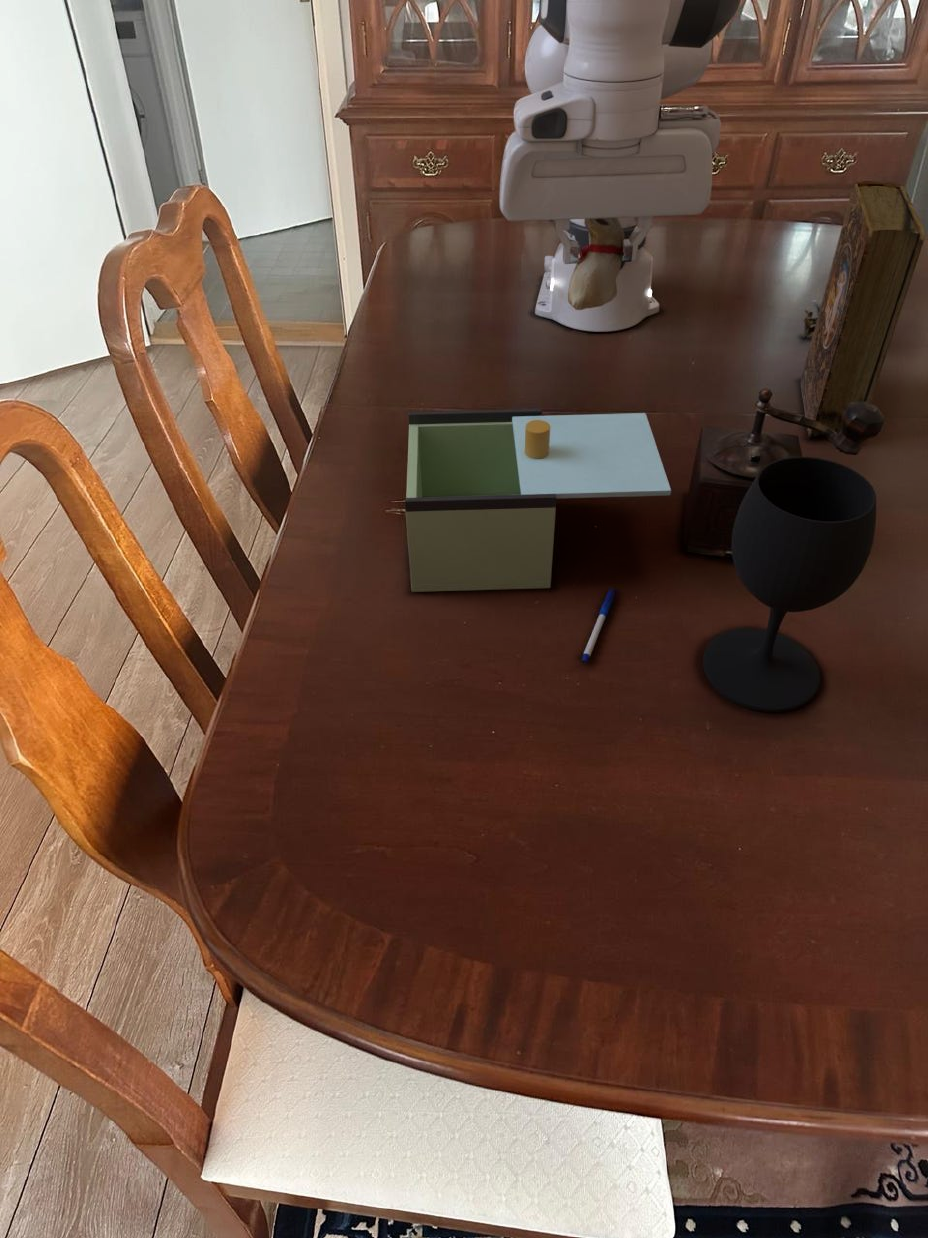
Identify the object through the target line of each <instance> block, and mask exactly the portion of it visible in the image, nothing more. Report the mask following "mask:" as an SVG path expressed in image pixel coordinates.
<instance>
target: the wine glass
mask: <svg viewBox="0 0 928 1238" xmlns="http://www.w3.org/2000/svg"><path fill="white" fill-rule="evenodd" d="M876 521H877V494H876V492H875V489H874V487H873V485H872V484H871V483H870V482H869V481H868V480H867V478H866V477H865V476H864V475H862V474H860V473H859V472H857V471H856V470H854V469H852V468H851V467H849V466H846V465H844V464H841V463H839V462H836V461H832V460H829V459H825V458H820V457H813V456H812V457H811V456H802V457H790V458H784V459H780V460H777V461H774V462H772V463H770V464H768V465H767V466H765V467H764V468H763V469H762V470H761V471H760V472H759V474H758V475H757V477H756V478H755V480H754V481H753V483H752V485H751V486H750V488H749V490H748V491H747V493H746V495H745V497H744V499H743V501H742V503H741V505H740V507H739V510H738V513H737V516H736V519H735V523H734V527H733V532H732V557H733V559H732V561H733V566H734V568H735V571H736V573H737V576H738V577H739V580H740V581H741V583H742V584H743V586H744V587H745V589H746V590H747V591H748V592H749V593H750V594H751V595H752V596H753V598H755V599H756V600H758V601H759V602H760V603H762V604H763V605H765V606H767V607H769V617H768V621H767V625H766V626H767V627H766V629H764V628H758V627H741V628H734V629H731V630H727V631H725V632H722V633H720V634H718V635H717V636H716V637H714V638H713V639H712V640H711V641H710V642H709V643H708V644H707V646H706V648H705V650H704V654H703V656H702V667H703V673H704V675H705V677H706V679H707V681H708V682H709V683H710V685H711V686H712V687H713V688H714V689H715V690H716V692H718V693H719V694H720V695H721V696H723V697H724V698H726V699H727V700H729V701H730V702H732V703H734V704H736V705H738V706H741V707H744V708H746V709H750V710H753V711H756V712H757V711H758V712H765V713H782V712H783V713H785V712H788V711H793V710H796V709H798V708H801V707H802V706H804V705H806V704H808V703H809V702H810V701H811V700H812V699H813V698H814V697H815V695H817V692H818V690H819V687H820V682H821V675H820V669H819V666H818V664H817V662H816V660H815V659H814V657H813V656H812V655H811V653H810V652H809V651H808V650H807V649H806V648H805V647H803V645H801V644H800V643H798V641H795V640H794V639H792V638H791V637H789V636H786V635H784V634H782V633H779V630H780V627H781V625H782V622H783V620H784V618H785V616H786V614H787V613H801V612H802V613H803V612H807V611H812V610H816V609H818V608H821V607H824V606H826V605H828V604H830V603H831V602H833V601H835V600H837V599H838V598H840V597H841V596H842V595H843V594H844V593H846V592H847V591H848V590H849V589H850V588H851V587H852V585H853V584H854V583H855V582H856V581H857V579H858V578H859V577H860V575H861V574H862V572H863V570H864V568H865V566H866V565H867V562H868V560H869V557H870V554H871V553H872V552H871V551H872V548H873V545H874V539H875V533H876V525H877V524H876V523H877V522H876Z"/></svg>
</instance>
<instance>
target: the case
mask: <svg viewBox="0 0 928 1238" xmlns="http://www.w3.org/2000/svg"><path fill="white" fill-rule="evenodd" d="M516 416H543V409H542V408H541V407H540V408H503V409H501V408H500V409H467V410H463V409H462V410H431V411H430V410H429V411H428V410H427V411H408V443H407V444H408V445H407V468H406V471H407V472H406V490H405V491H406V494H405V495H406V496H405V497H404V508H405V510H404V511H405V520H406V521H405V522H406V524H405V525H406V534H407V535H406V536H407V537H406V538H407V548H408V562H409V575H410V587H411V592H412V593H422V592H423V593H424V592H425V593H427V592H458V591H459V592H460V591H461V592H463V591H493V590H494V591H495V590H528V589H529V590H531V589H532V590H533V589H550V588H552V587H551V584H552V569H553V558H554V557H553V556H554V541H555V527H556V526H555V525H556V510H557V508H556V507H557V499H556V494H530V495H521V491H520V483H519V474H518V466H517V458H516V449H515V441H514V433H513V424H512V417H516Z"/></svg>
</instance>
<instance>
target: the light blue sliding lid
mask: <svg viewBox="0 0 928 1238" xmlns="http://www.w3.org/2000/svg"><path fill="white" fill-rule="evenodd" d="M512 424H513V433H514V441H515V449H516V458H517V466H518V474H519V483H520V491H521V495H530V494H556V500H557V499H586V498H588V499H589V498H592V499H595V498H626V497H660V496H663V497H665V496H671V495H672V488H671V486H670V483H669V480H668V477H667V473H666V471H665V468H664V464H663V461H662V458H661V456H660V452H659V449H658V446H657V443H656V441H655V436H654V434H653V432H652V427H651V426H650V425H651V424H650V422H649V420H648V416H647V413H646V412H635V413H634V412H633V413H631V412H630V413H627V412H626V413H597V414H596V413H595V414H594V413H593V414H590V413H589V414H563V415H562V414H560V415H559V414H557V415H553V414H552V415H542V416H516V417H512Z"/></svg>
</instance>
